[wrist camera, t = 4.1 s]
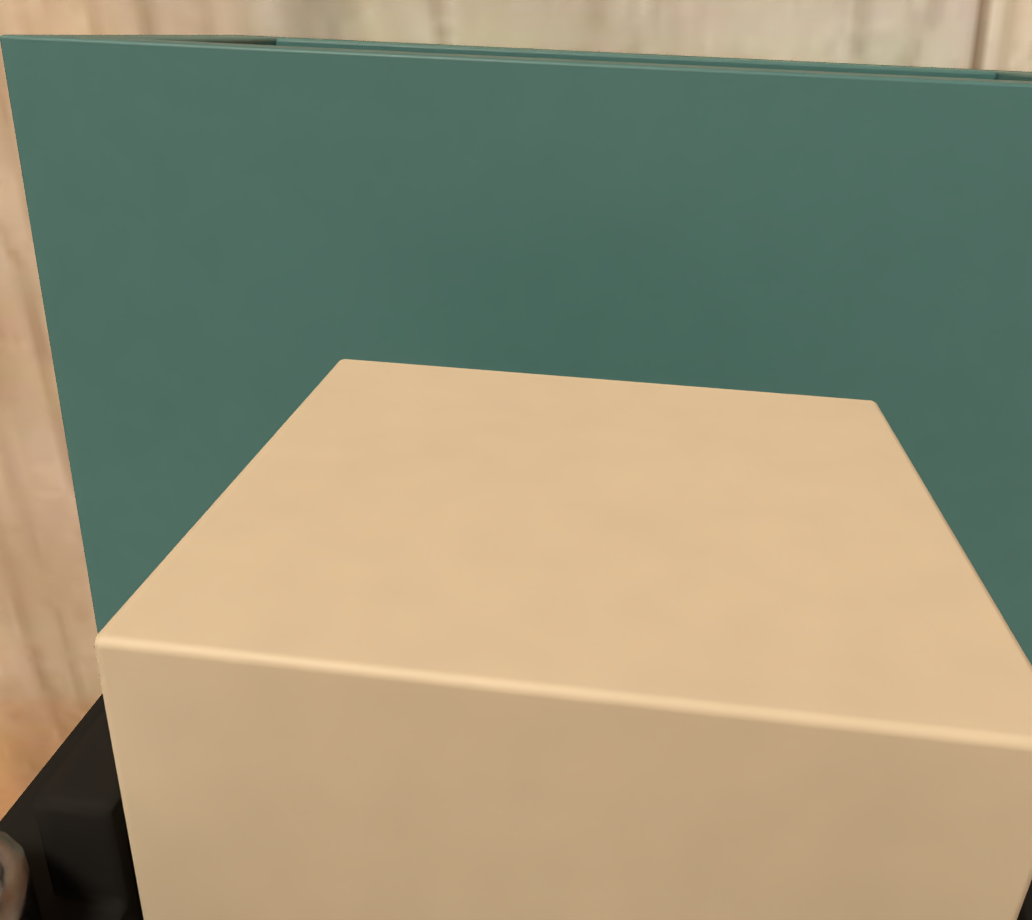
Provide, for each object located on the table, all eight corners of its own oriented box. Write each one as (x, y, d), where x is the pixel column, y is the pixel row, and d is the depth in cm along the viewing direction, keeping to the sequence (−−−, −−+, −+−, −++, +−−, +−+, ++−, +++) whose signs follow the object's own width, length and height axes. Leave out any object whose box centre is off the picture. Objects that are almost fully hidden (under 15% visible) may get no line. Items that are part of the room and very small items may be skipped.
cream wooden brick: (339, 356, 9) (-9, 745, 4) (876, 399, 9) (1170, 884, 4) (359, 822, 12) (155, 1396, 7) (774, 874, 11) (873, 1531, 6)
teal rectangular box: (234, 34, 20) (-3, 35, 12) (1046, 72, 18) (1317, 97, 11) (271, 546, 25) (117, 761, 17) (913, 607, 23) (1040, 869, 16)
